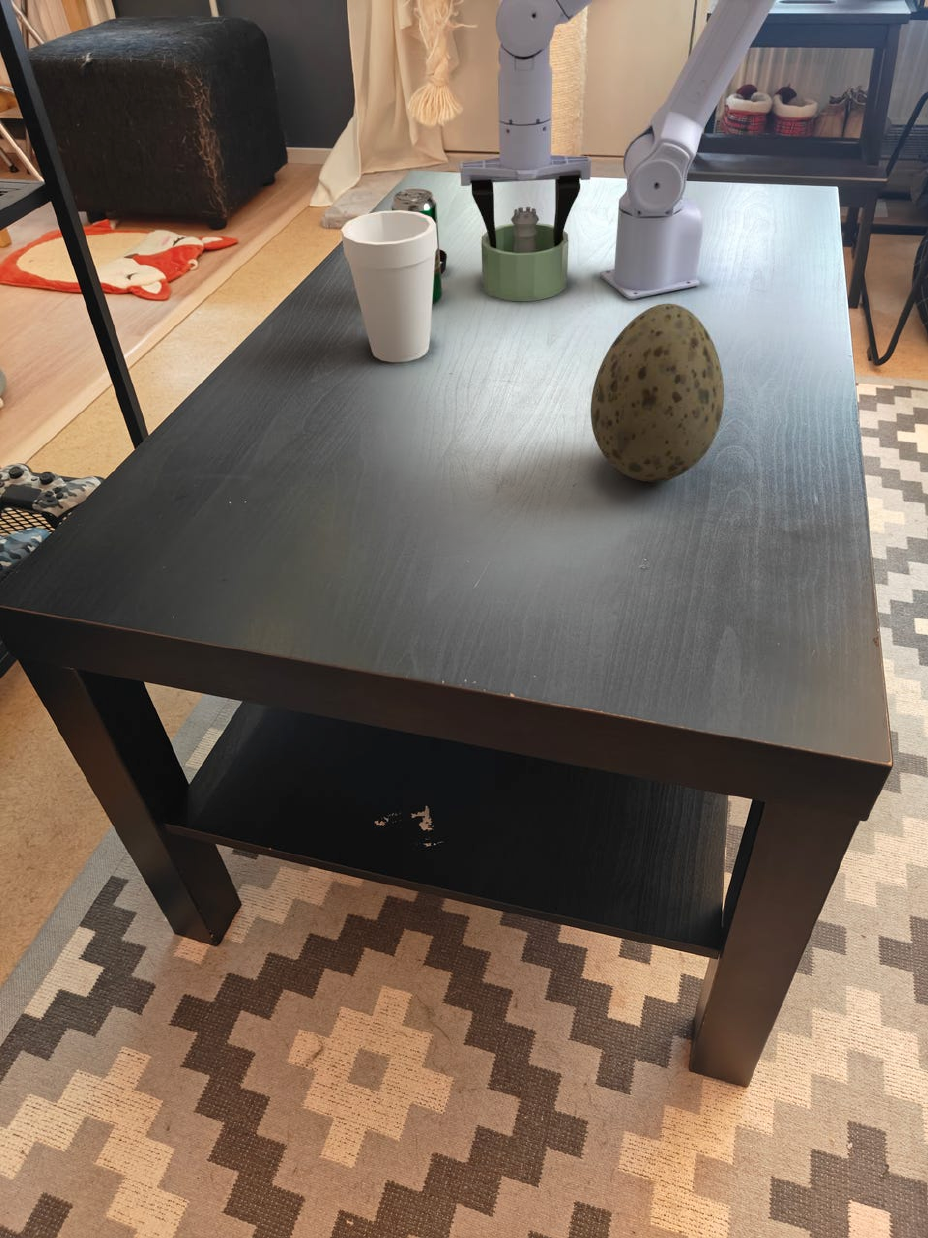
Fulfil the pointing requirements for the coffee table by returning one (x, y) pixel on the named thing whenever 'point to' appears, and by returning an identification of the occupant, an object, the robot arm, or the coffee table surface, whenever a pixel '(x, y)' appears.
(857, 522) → the coffee table surface
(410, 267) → the foam cup
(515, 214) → the rook chess piece
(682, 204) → the robot arm
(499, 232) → the green cup
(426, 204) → the soda can
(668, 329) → the decorative egg
